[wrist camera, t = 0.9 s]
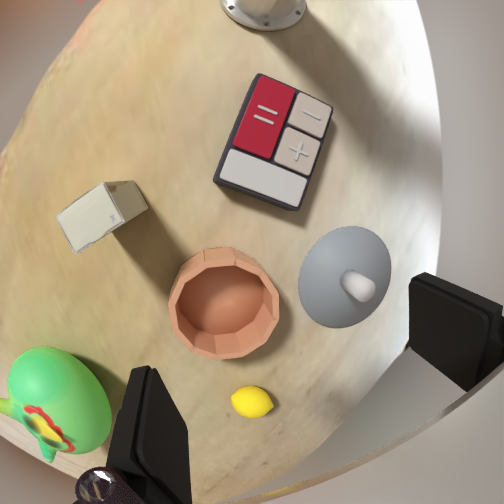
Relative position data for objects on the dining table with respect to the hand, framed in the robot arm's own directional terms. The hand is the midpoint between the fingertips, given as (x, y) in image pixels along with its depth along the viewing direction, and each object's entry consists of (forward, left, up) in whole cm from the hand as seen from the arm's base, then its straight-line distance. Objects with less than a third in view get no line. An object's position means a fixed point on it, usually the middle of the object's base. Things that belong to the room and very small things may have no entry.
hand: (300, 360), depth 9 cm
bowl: (+9, -1, -30) cm, 31 cm away
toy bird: (+22, -28, -30) cm, 47 cm away
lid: (+9, +18, -30) cm, 37 cm away
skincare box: (-4, -13, -30) cm, 33 cm away
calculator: (-11, +7, -31) cm, 33 cm away
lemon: (+27, +2, -30) cm, 41 cm away
